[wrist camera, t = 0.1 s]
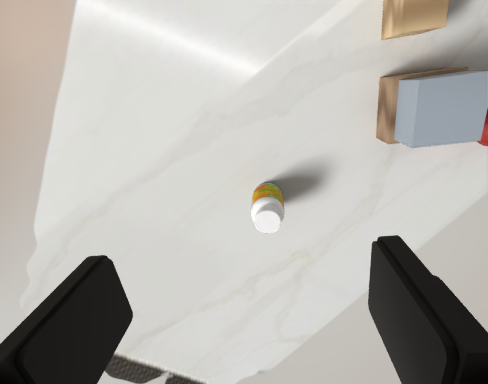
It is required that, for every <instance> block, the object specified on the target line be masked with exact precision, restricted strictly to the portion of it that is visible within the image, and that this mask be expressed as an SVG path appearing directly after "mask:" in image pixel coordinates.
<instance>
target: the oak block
mask: <svg viewBox="0 0 488 384" xmlns="http://www.w3.org/2000/svg"><path fill="white" fill-rule="evenodd" d="M448 5H449V0H384V1H383V18H382V36H381V40H385V39H391V38H397V37H404V36H410V35H416V34H421V33H424V32H428V31H431V30H435V29H438V28H441V27H445V26H446V20H447V13H448Z"/></svg>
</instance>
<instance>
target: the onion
mask: <svg viewBox="0 0 488 384" xmlns="http://www.w3.org/2000/svg"><path fill="white" fill-rule="evenodd" d="M477 142H478V143H479V144H482V145H484V146H488V108H487V113H486V118H485V123H484V127H483V132H482V137H481V141H477Z"/></svg>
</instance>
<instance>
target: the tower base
mask: <svg viewBox="0 0 488 384" xmlns="http://www.w3.org/2000/svg"><path fill="white" fill-rule="evenodd" d="M467 70H468V67H464V68H447V69H439V70H432V71H424V72H417V73H410V74H403V75H396V76H388V77H381V78H380V81H379V98H378V115H377V131H376V138H378V139H380V140H382V141H384V142H386V143H387V144H395V143H400V142H397V141H395V140H394V134H395V122H396V110H397V98H398V86H399V80H405V79H413V78H420V77H427V76H434V75H442V74H449V73H456V72H463V71H467Z"/></svg>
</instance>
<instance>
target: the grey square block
mask: <svg viewBox="0 0 488 384" xmlns="http://www.w3.org/2000/svg"><path fill="white" fill-rule="evenodd" d="M487 108H488V70H483V71H463V72H456V73H449V74H442V75H434V76H427V77H420V78H413V79H405V80H399V86H398V98H397V110H396V122H395V134H394V140H395V141H397V142H400V143H402V144H404V145H406V146H408V147H410V148H418V147H427V146H436V145H445V144H454V143H464V142H473V141H481V137H482V132H483V127H484V123H485V118H486V113H487Z"/></svg>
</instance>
